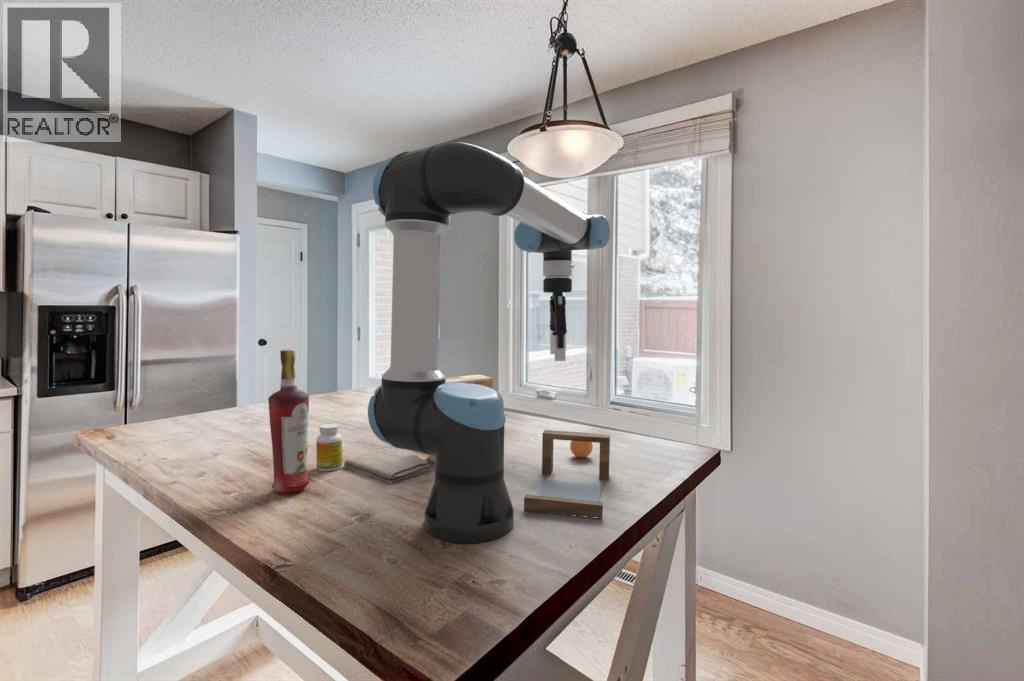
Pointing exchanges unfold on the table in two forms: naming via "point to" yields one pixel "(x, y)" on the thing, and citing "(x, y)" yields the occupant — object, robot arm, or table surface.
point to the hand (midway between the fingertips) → (557, 357)
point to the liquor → (289, 430)
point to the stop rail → (563, 506)
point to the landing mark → (570, 490)
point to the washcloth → (389, 465)
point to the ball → (581, 448)
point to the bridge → (575, 436)
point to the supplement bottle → (329, 448)
